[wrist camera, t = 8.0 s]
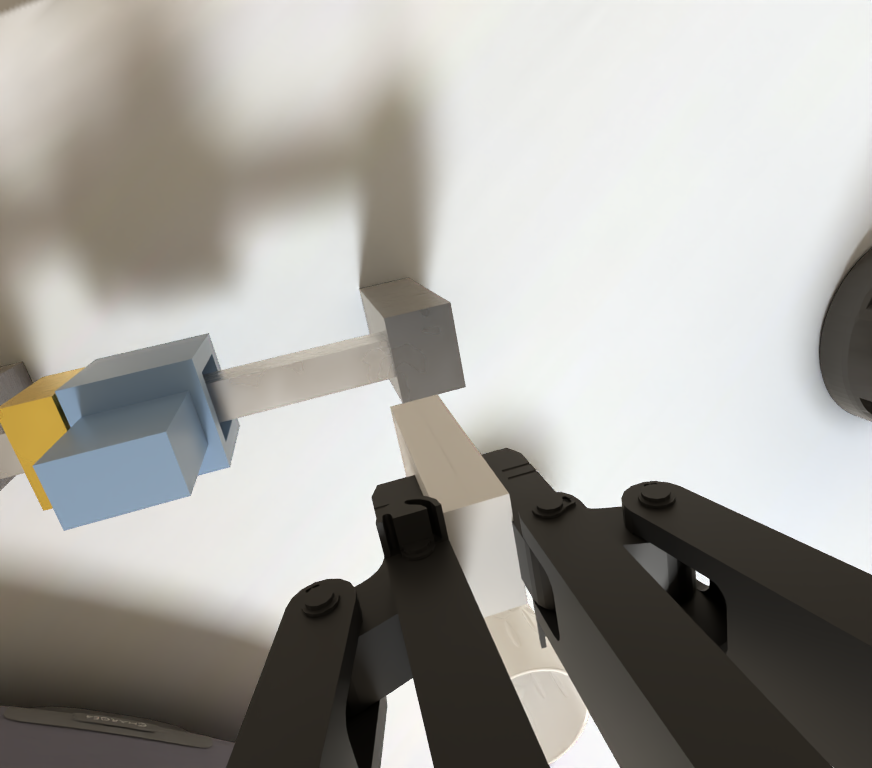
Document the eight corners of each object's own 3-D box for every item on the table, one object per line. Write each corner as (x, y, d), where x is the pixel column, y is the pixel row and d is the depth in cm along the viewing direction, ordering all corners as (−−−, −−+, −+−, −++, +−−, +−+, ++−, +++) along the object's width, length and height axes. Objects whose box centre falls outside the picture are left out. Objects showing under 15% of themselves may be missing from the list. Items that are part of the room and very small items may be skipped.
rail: (407, 274, 33) (459, 303, 23) (422, 344, 35) (476, 401, 25) (-52, 378, 29) (-236, 470, 19) (-14, 453, 31) (-166, 575, 21)
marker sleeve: (208, 333, 26) (169, 393, 18) (239, 425, 28) (217, 521, 19) (96, 359, 26) (-3, 435, 17) (134, 453, 27) (62, 565, 19)
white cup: (406, 642, 41) (440, 768, 32) (453, 551, 40) (502, 656, 31) (496, 662, 44) (551, 784, 35) (543, 578, 43) (613, 682, 33)
